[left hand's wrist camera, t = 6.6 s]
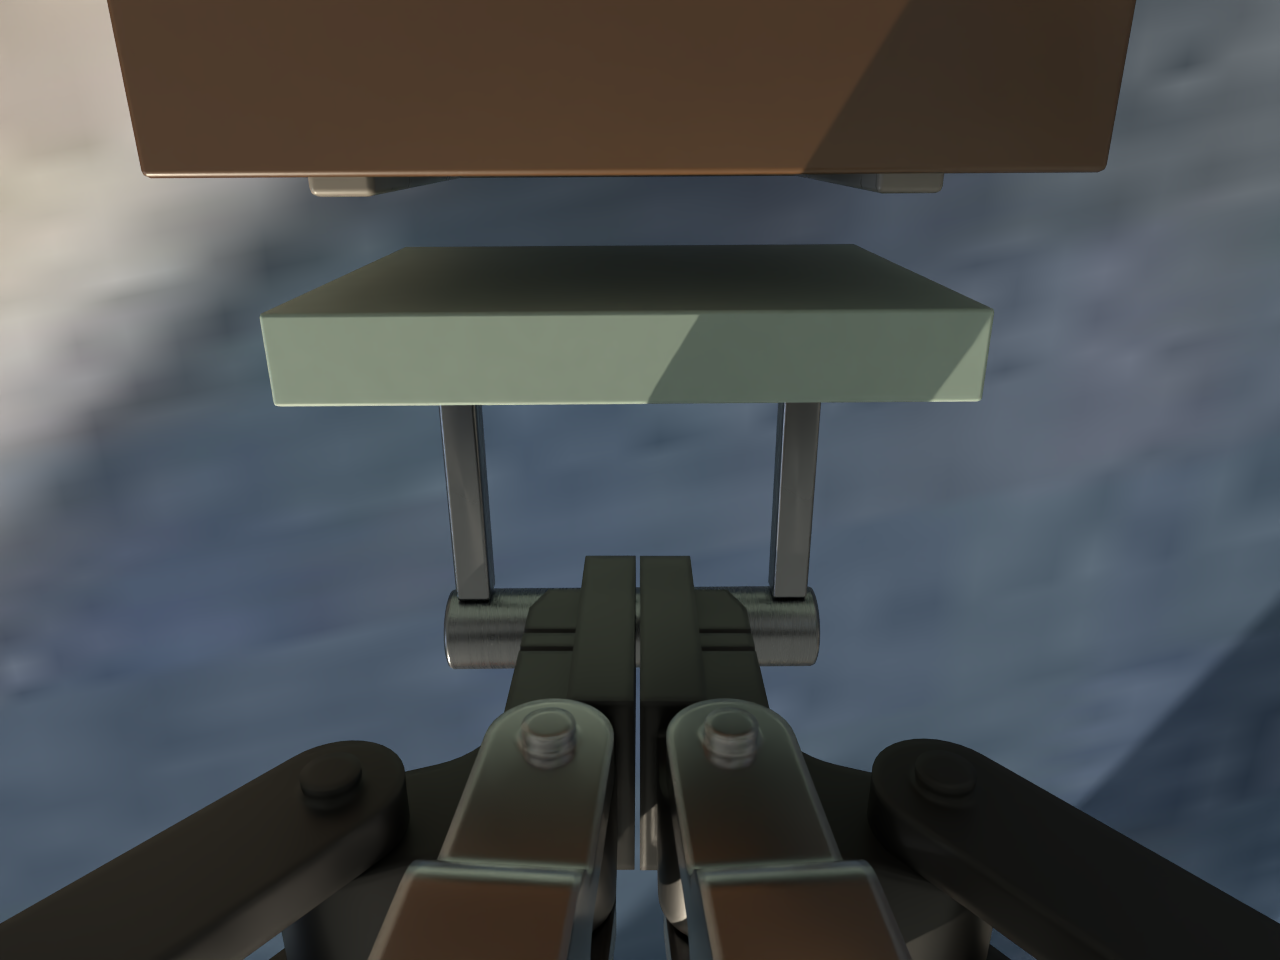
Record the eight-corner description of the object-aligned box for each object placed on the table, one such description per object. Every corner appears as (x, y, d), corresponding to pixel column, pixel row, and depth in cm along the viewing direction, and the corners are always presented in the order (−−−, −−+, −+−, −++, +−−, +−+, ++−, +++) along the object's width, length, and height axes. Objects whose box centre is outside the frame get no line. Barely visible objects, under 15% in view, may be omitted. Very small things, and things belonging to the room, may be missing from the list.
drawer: (830, 553, 20) (931, 764, 13) (434, 556, 20) (332, 770, 13) (929, -648, 13) (1262, -1534, 6) (312, -646, 13) (-51, -1534, 6)
